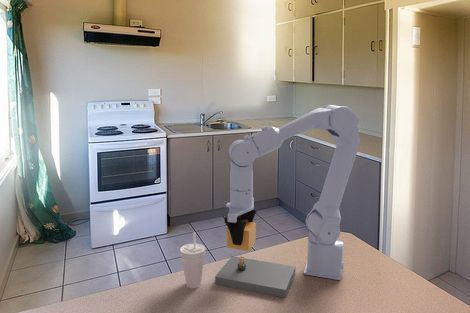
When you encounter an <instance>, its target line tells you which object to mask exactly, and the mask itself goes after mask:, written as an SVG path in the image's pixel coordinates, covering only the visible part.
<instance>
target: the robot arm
mask: <svg viewBox="0 0 470 313" xmlns="http://www.w3.org/2000/svg"><path fill="white" fill-rule="evenodd" d="M359 121H360V119H359V117H358V116H357V115H356V113H355V112H354V110H353V109H352V108H351V107H349V106H344V105H343V106H339V105H334V104H326V105H324V106H322V107H318V108H315V109H313V110H311V111H309V112H307V113H306V114H305V113H304V114H303V115H302V116H300V117H298V118H296V119H294V120H292V121H290V122H288V123H285V124H284V125H282V126H280V127H277V128H276V127H274V126H271V125H270V126H267V125H264V126H261V130H259V131H258V132H255V133H253V134H251V135H248V134H247V135H244V136H243V138H244V139H236V140H234V141H233V142H232V143H231V145H229V148H228V150H227V154H228V157H229V158H230V164H229V166H230V167H229V168H230V171H229V200H230V201H229V202H227V203H226V204H225V208H228V209H229V210H228V213H227V215H226V216H225V217H224V220H223V221H224V224H225V225H226V226H227V227H228V229H229V231H230V234H231V238H232V242H233V244H234V245H242V241H243V234H244V229H245V226H246V223H247V222H253V223H254V219H255V217H256V214H257V213H258V209H259V208H258V207H256V206H255V205H254V202H255V198H254V196H253V195H254V170H253V163H254V161H255V159H256V158H257V159H258V158H261V157H263V156H265V155H267V154H268V153H271V152H273V151H275V150H278V149H279V148H281V147H282V145H283V142H284V141H286V140H287V139H290V138H292V137H296V136H297V135H300V134H303V133H305V132H307V131H309V130H312V129H319V130H325V131H327V132H328V133H329V134H330V136H331V137H332V139H333V140H334V142H335V144H336V146H335V148H334V152H333V156H332V158H331V162H330V165H329V168H328V172H327V175H326V177H325V181H324V184H323V187H322V191H321V194H320V197H319V200H318V201H317V202H314V204H313V206H312V208H311V211H310V212H309V213H308V214H307V216H306V218H305V226H306V227H307V229H308V230H309V231H308V235H307V251H306V252H307V257H306V265H305V267H304V270H303V272H302V274H304V275H308V276H313V277H320V278H324V279H325V278H326V279H329V280H335V281H341V279H342V273H343V270H344V266H345V264H344V263H345V262H344V250H345V249H344V248H345V246H344V245H345V243H344V241H342V240H339V238H340V235H341V222H342V216H341V210H340V206H341V203H342V200H343V197H344V193H345V191H346V188H347V185H348V183H349V182H348V181H349V178H350V175H351V172H352V170H353V166H354V163H355V161H356V156H357V154H358V151H359V149H360V145H361V137H360V133H359ZM227 227H226V228H227Z"/></svg>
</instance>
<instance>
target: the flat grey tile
mask: <svg viewBox="0 0 470 313" xmlns="http://www.w3.org/2000/svg"><path fill="white" fill-rule="evenodd" d="M296 268H297V267H296V266H295V265H289V264H281V263H277V262H269V261H264V260H257V259H253V258H245V256H244V255H240V256H239V257H238V256H233V255H232V256H230V258H229V259H228V261H226V262H225V264H224V265H223V266H222V267H221V269H220V270H219V271H218V273H217V274H216V275H215V276H214V284H215V285H219V286H224V287H229V288H233V289H239V290H243V291H248V292H249V291H250V292H254V293H260V294H265V295H270V296H276V297H280V298H286V297H287V295H288V293H289V290H290V287H291V286H292V283H293V281H294V278H295V275H296V271H297V269H296Z"/></svg>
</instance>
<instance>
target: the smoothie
mask: <svg viewBox="0 0 470 313" xmlns="http://www.w3.org/2000/svg"><path fill="white" fill-rule="evenodd" d="M196 235H197V234H196V231H193V234H192V237H193V238H192V241H193V243H192V242H191V243H187V244H184V245H182V246H181V247H180V248H179V255H180V256H181V261H182V267H183V274H184V279H185V284H186V287H187V288H188V289H198V288H199V287H201V286H202V278H203V268H204V261H205V260H204V259H205V254H206V252H207V251H206V247H205V246H204V245H203V244H201V243H197V240H196V238H197V237H196Z"/></svg>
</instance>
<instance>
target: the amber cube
mask: <svg viewBox="0 0 470 313" xmlns="http://www.w3.org/2000/svg"><path fill="white" fill-rule="evenodd" d="M256 234H257V223H256V222H254V221H253V222H247V223H246V226H245V229H244V234H243V241H242V245H234V244H233V242H232V238H231V234H230V231H229V229H228V227H226V248H228V249H233V250H234V249H236V250H241V251H248V252H249V251H251V249H252V247H253V246H254V245H255V243H256V242H257V240H256V238H257V236H256Z"/></svg>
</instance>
